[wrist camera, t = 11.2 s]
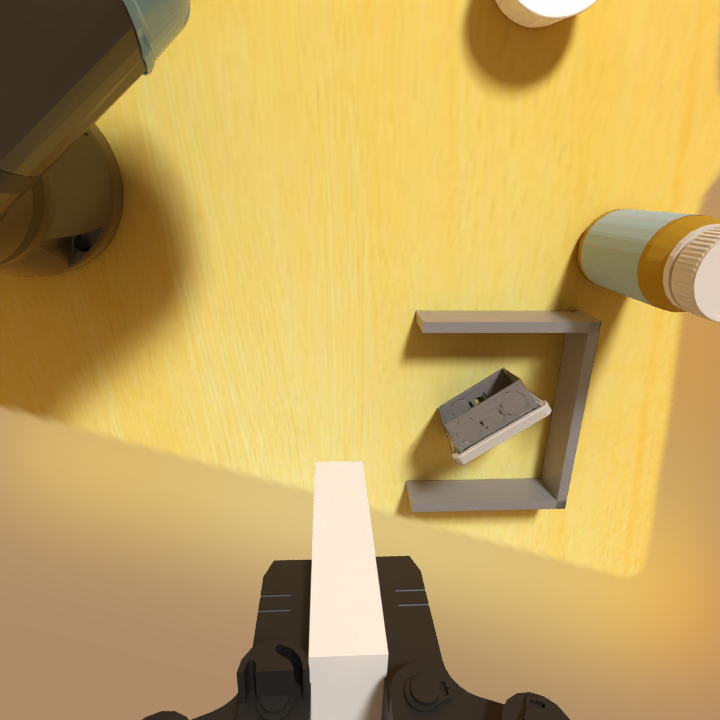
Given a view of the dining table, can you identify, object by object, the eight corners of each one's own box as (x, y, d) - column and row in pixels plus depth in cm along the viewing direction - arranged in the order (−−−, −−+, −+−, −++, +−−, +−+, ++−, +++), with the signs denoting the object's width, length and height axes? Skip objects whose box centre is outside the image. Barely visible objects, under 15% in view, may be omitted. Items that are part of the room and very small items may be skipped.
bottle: (659, 256, 45) (809, 289, 31) (593, 299, 46) (709, 349, 32) (630, 192, 43) (776, 196, 29) (561, 239, 44) (670, 264, 30)
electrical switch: (448, 437, 51) (468, 482, 42) (422, 399, 49) (437, 437, 40) (526, 391, 49) (564, 427, 40) (502, 350, 48) (535, 378, 39)
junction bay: (415, 310, 45) (423, 322, 42) (579, 310, 46) (601, 321, 43) (405, 488, 52) (411, 512, 49) (548, 485, 53) (564, 508, 50)
